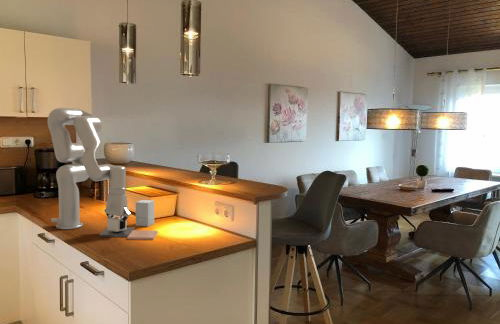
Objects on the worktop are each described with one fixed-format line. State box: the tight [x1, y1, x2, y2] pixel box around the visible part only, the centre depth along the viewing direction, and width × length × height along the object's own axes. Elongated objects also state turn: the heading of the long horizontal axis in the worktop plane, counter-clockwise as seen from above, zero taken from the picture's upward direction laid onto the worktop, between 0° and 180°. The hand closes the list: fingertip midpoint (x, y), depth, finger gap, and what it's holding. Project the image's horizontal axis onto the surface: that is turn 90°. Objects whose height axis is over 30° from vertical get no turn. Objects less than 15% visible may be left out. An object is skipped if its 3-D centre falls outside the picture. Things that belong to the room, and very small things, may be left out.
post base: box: [98, 226, 136, 238], centre depth 203 cm, size 14×14×5 cm
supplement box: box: [135, 199, 155, 227], centre depth 220 cm, size 7×7×13 cm
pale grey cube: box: [106, 215, 128, 232], centre depth 203 cm, size 6×6×6 cm
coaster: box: [126, 230, 158, 241], centre depth 199 cm, size 12×12×1 cm
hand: (117, 227), depth 203 cm, fingers closed on pale grey cube, 6 cm apart
